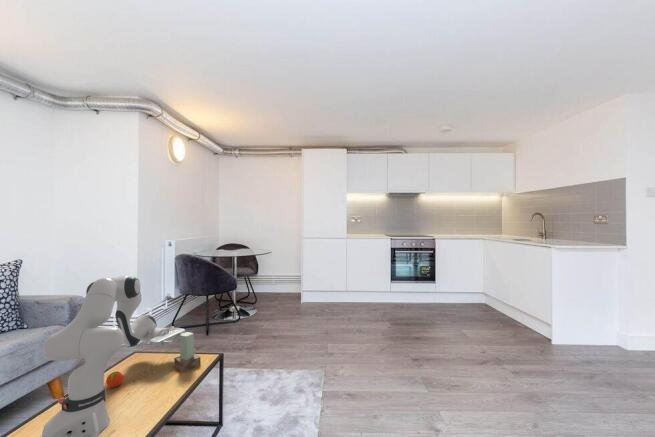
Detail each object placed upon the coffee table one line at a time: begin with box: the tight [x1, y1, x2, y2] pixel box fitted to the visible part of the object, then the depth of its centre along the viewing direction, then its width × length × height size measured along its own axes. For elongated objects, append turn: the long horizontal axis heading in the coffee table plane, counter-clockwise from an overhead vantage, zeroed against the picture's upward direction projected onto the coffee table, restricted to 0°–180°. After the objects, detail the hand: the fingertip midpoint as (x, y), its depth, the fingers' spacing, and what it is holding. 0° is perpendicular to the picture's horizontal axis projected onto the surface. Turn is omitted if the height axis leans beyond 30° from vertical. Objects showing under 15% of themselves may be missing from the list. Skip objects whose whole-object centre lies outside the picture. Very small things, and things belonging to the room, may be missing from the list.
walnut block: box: [173, 352, 202, 373], centre depth 173 cm, size 10×10×4 cm
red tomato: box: [105, 371, 124, 388], centre depth 153 cm, size 8×7×7 cm
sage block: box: [179, 331, 195, 360], centre depth 173 cm, size 5×5×13 cm
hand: (178, 339), depth 176 cm, fingers open, 8 cm apart
